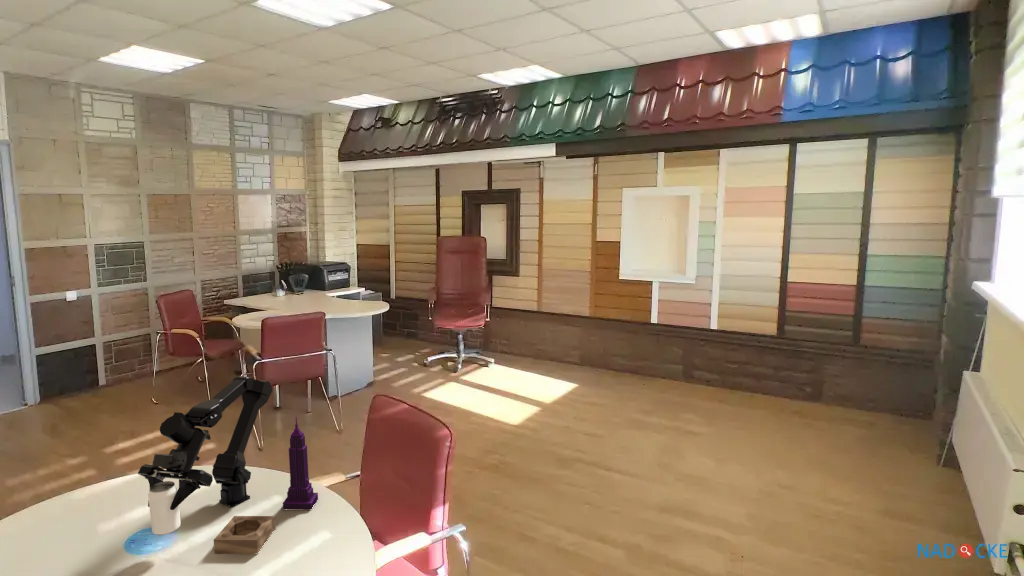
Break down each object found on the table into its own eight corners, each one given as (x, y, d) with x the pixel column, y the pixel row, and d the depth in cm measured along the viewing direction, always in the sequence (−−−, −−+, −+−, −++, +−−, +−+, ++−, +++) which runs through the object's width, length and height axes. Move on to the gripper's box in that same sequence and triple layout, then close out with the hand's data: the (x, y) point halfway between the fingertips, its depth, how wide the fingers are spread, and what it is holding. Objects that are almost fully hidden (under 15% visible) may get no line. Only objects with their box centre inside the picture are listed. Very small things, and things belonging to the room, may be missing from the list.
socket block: (235, 528, 161) (234, 515, 161) (275, 529, 161) (274, 516, 161) (214, 553, 150) (213, 539, 149) (257, 553, 150) (256, 540, 149)
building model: (318, 499, 177) (314, 407, 173) (311, 510, 171) (306, 415, 166) (291, 498, 178) (285, 407, 173) (282, 510, 171) (277, 415, 167)
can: (168, 537, 146) (163, 493, 144) (146, 534, 147) (141, 491, 145) (186, 522, 152) (182, 481, 150) (165, 520, 153) (160, 479, 151)
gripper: (139, 436, 151) (108, 495, 142) (201, 441, 148) (173, 503, 139) (165, 450, 160) (137, 507, 151) (224, 456, 157) (199, 515, 148)
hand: (160, 508), depth 147 cm, fingers closed on can, 6 cm apart
